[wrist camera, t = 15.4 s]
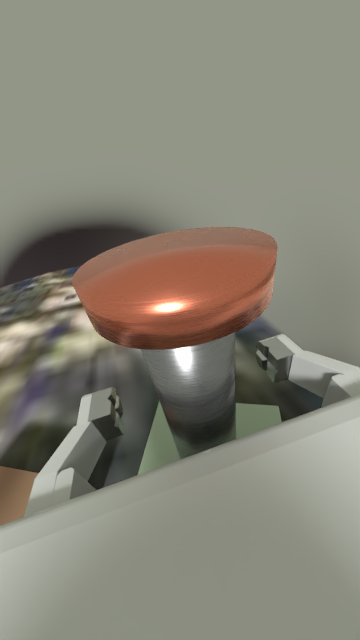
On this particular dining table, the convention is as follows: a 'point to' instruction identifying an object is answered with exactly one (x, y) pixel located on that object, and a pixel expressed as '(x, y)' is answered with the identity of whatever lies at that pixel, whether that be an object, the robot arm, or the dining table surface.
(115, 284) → the peg
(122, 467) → the dining table surface
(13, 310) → the dining table surface
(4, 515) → the collar
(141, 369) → the dining table surface
